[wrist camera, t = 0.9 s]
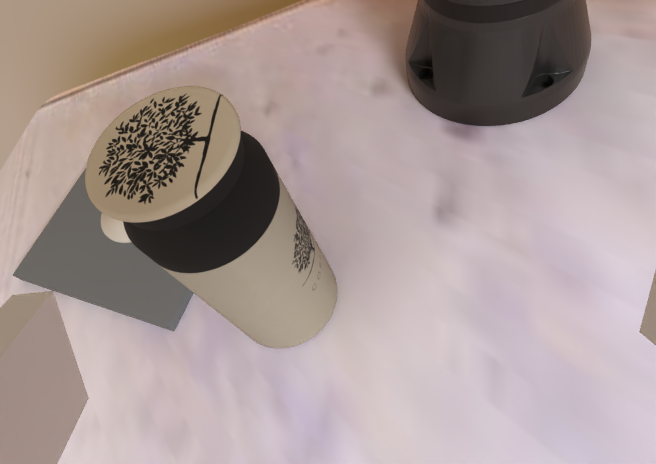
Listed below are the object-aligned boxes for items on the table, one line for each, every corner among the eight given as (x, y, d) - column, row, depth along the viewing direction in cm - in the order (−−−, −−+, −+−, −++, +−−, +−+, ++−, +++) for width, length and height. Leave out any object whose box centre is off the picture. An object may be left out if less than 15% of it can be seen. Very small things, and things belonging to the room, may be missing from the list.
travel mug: (225, 341, 35) (47, 217, 20) (255, 247, 39) (122, 82, 24) (325, 357, 33) (206, 230, 18) (347, 255, 36) (264, 77, 21)
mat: (121, 130, 51) (114, 122, 50) (264, 151, 44) (259, 142, 43) (21, 279, 44) (9, 273, 42) (173, 331, 37) (165, 325, 36)
